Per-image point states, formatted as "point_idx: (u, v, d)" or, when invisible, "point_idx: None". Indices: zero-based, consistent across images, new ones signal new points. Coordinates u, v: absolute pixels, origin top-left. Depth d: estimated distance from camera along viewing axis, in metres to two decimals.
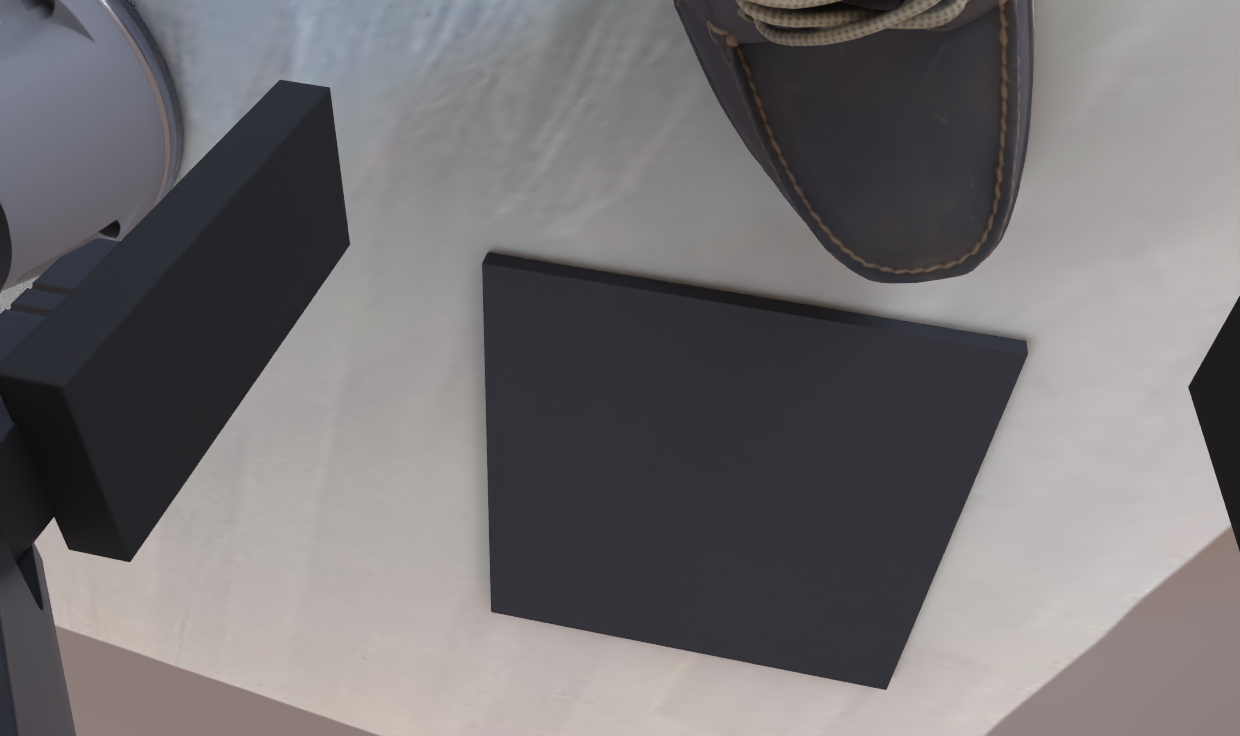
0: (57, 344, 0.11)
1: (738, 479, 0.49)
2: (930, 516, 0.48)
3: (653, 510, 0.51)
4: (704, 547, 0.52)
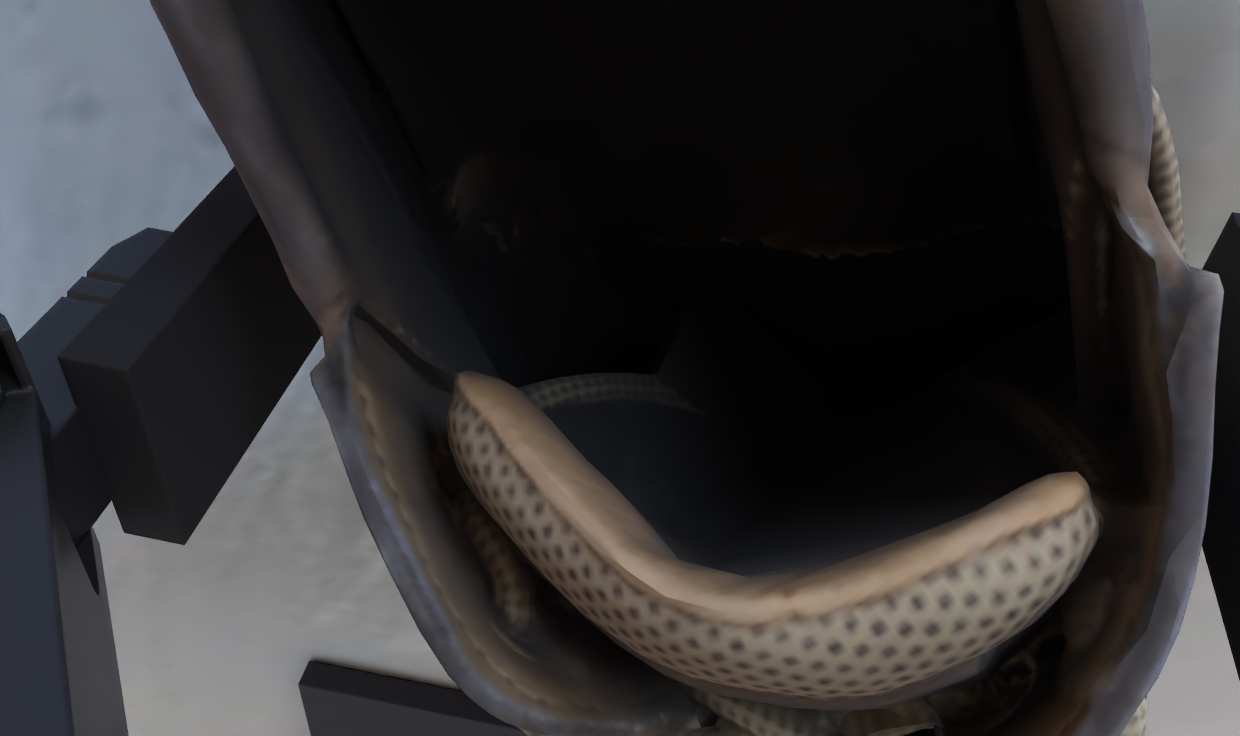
0: (120, 329, 0.11)
1: None
2: None
3: None
4: None
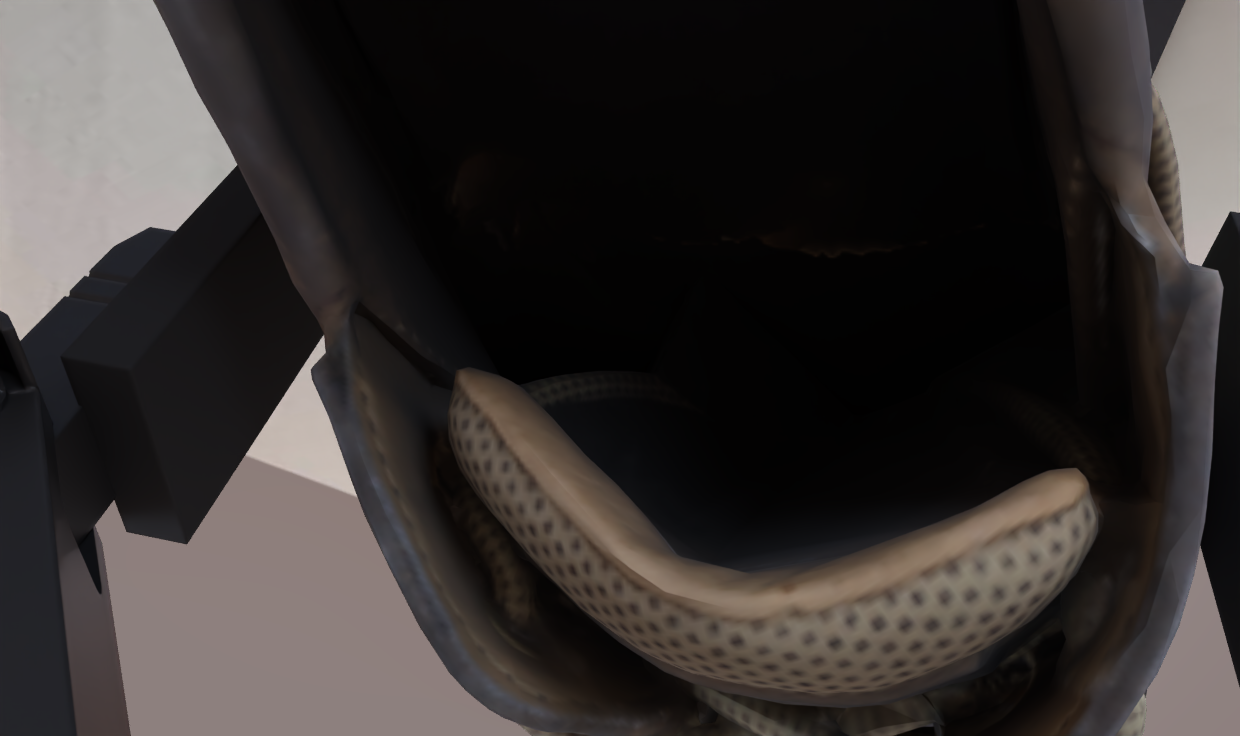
0: (123, 329, 0.11)
1: None
2: None
3: None
4: None
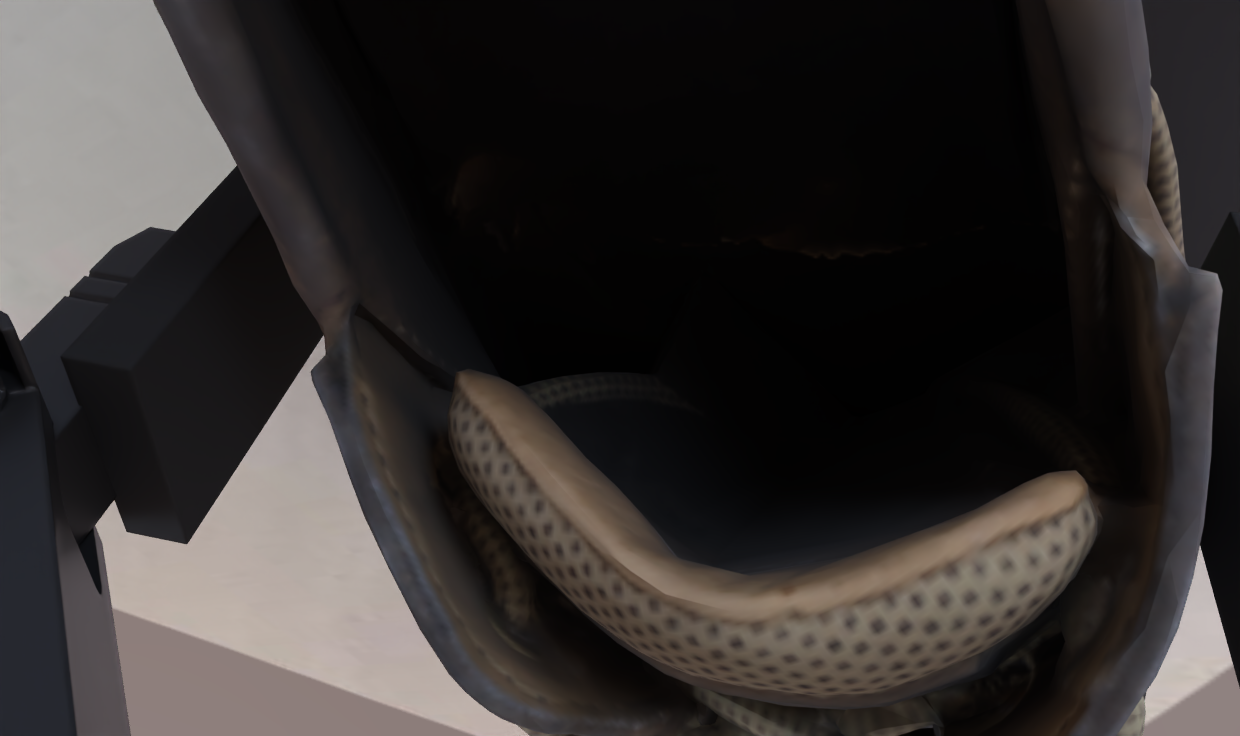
0: (123, 329, 0.11)
1: None
2: None
3: None
4: None
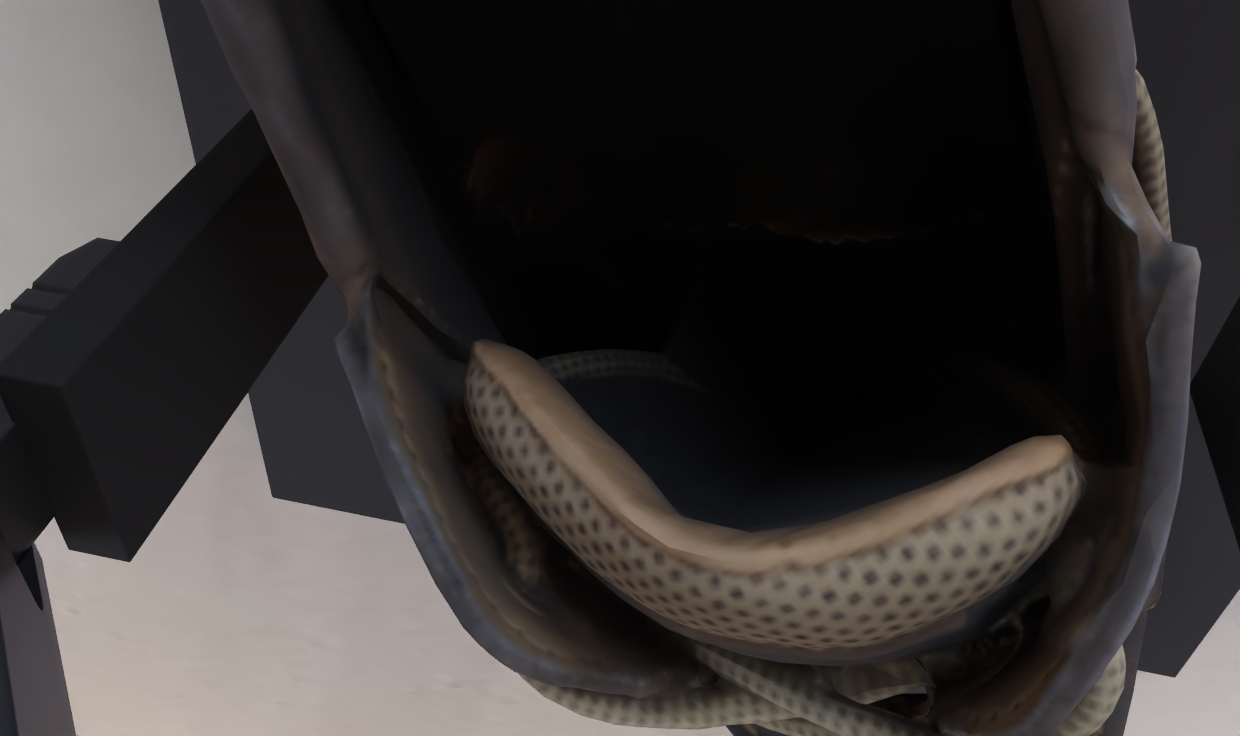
0: (57, 344, 0.11)
1: None
2: None
3: None
4: None
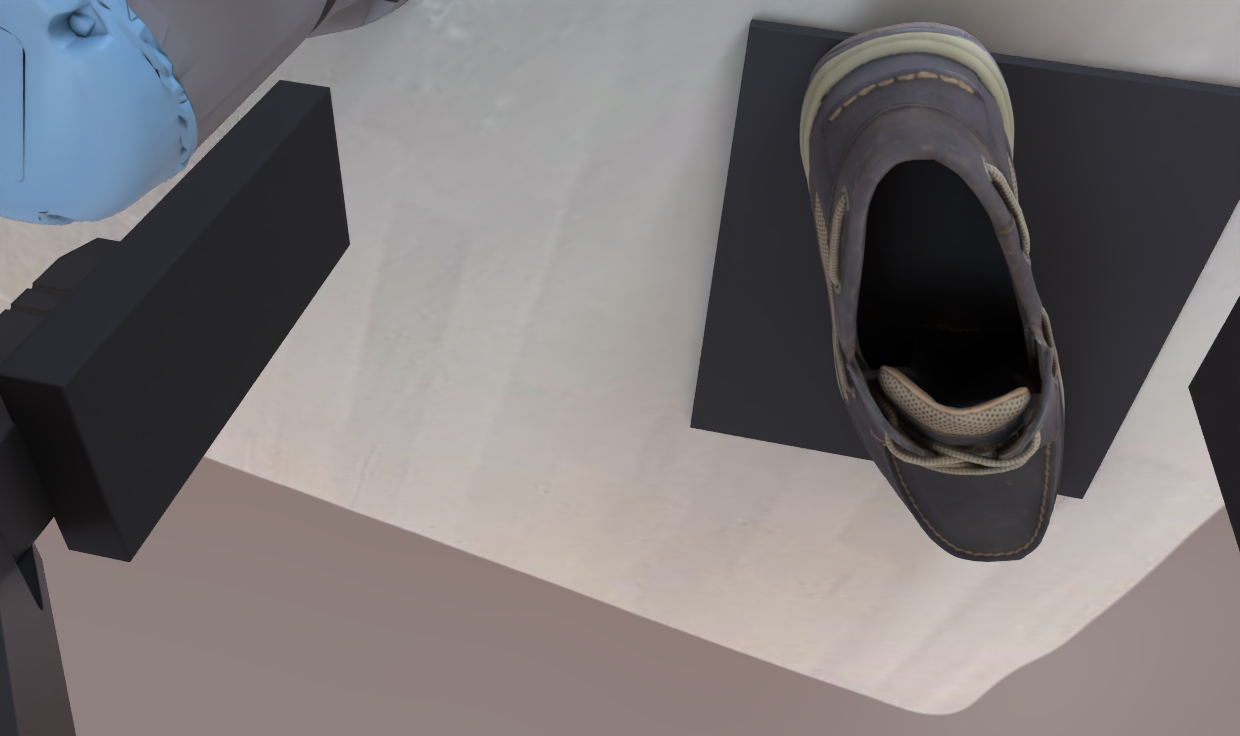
0: (57, 344, 0.11)
1: None
2: (1160, 294, 0.50)
3: None
4: None
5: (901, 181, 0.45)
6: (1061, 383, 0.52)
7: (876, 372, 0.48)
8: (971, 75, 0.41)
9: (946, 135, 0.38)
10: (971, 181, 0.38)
